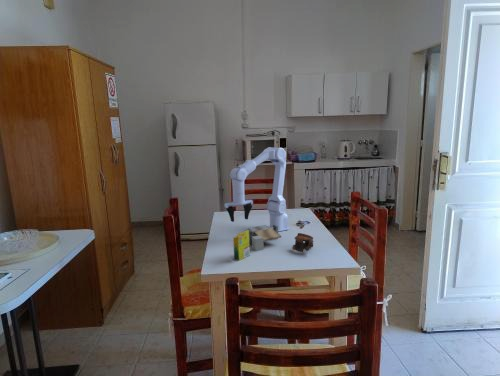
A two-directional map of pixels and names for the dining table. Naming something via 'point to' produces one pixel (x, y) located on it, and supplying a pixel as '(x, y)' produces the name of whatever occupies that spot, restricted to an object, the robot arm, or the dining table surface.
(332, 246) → the dining table surface
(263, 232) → the trapdoor
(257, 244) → the grey rectangular block
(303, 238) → the brown figurine
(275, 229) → the frame
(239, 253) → the crayon box
